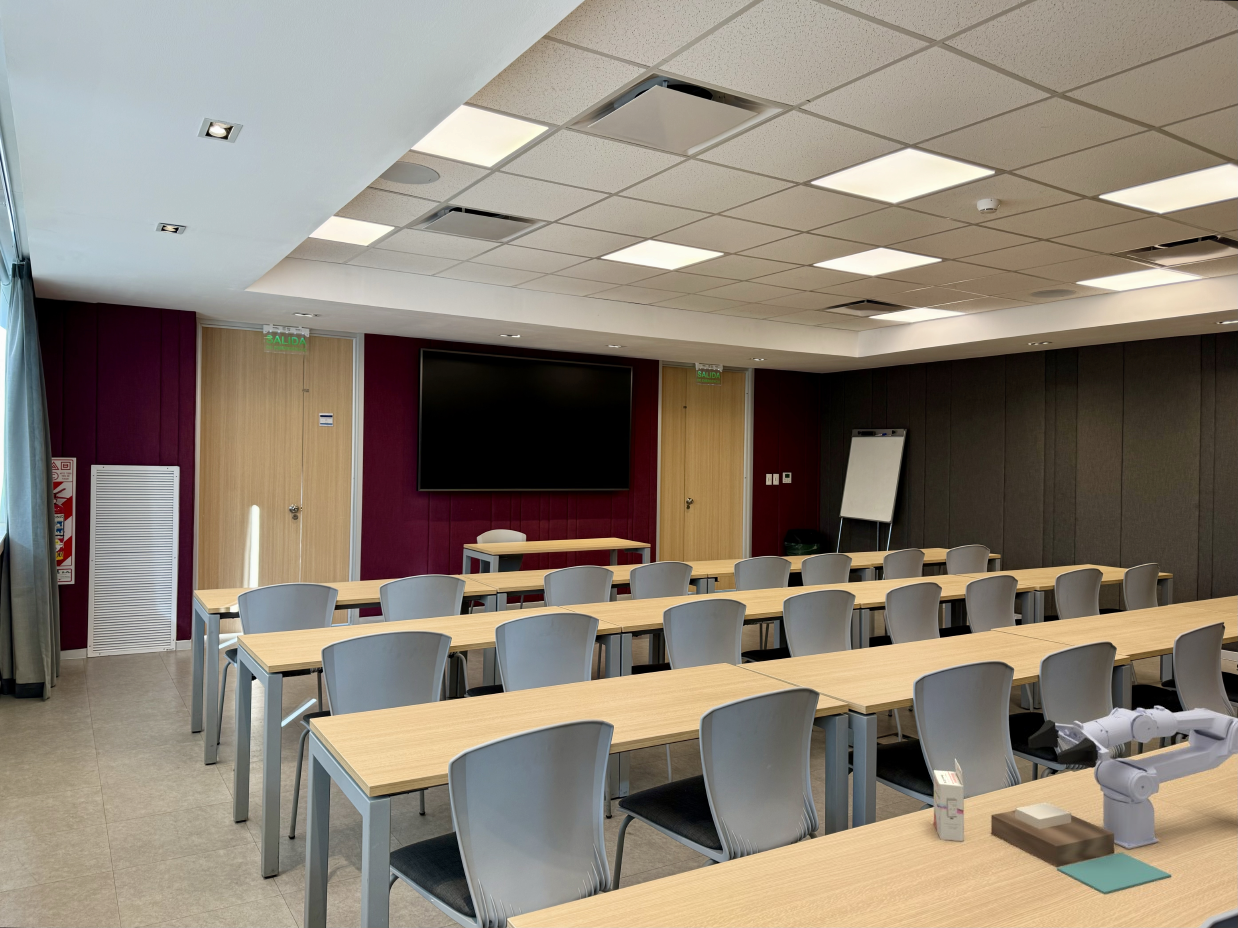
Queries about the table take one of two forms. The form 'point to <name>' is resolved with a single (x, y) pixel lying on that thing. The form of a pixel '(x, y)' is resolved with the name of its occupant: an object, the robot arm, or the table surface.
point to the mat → (1113, 873)
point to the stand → (1055, 839)
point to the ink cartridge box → (949, 804)
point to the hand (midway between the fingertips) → (1043, 750)
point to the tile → (1043, 815)
